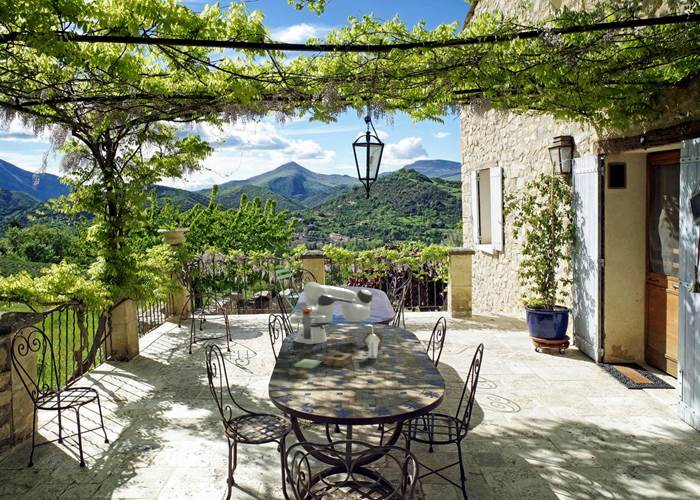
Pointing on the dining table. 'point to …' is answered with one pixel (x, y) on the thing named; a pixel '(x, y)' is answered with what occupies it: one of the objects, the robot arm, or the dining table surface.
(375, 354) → the cup with straw
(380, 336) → the pine cone
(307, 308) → the peg
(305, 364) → the mat
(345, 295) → the robot arm
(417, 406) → the dining table surface
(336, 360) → the collar
